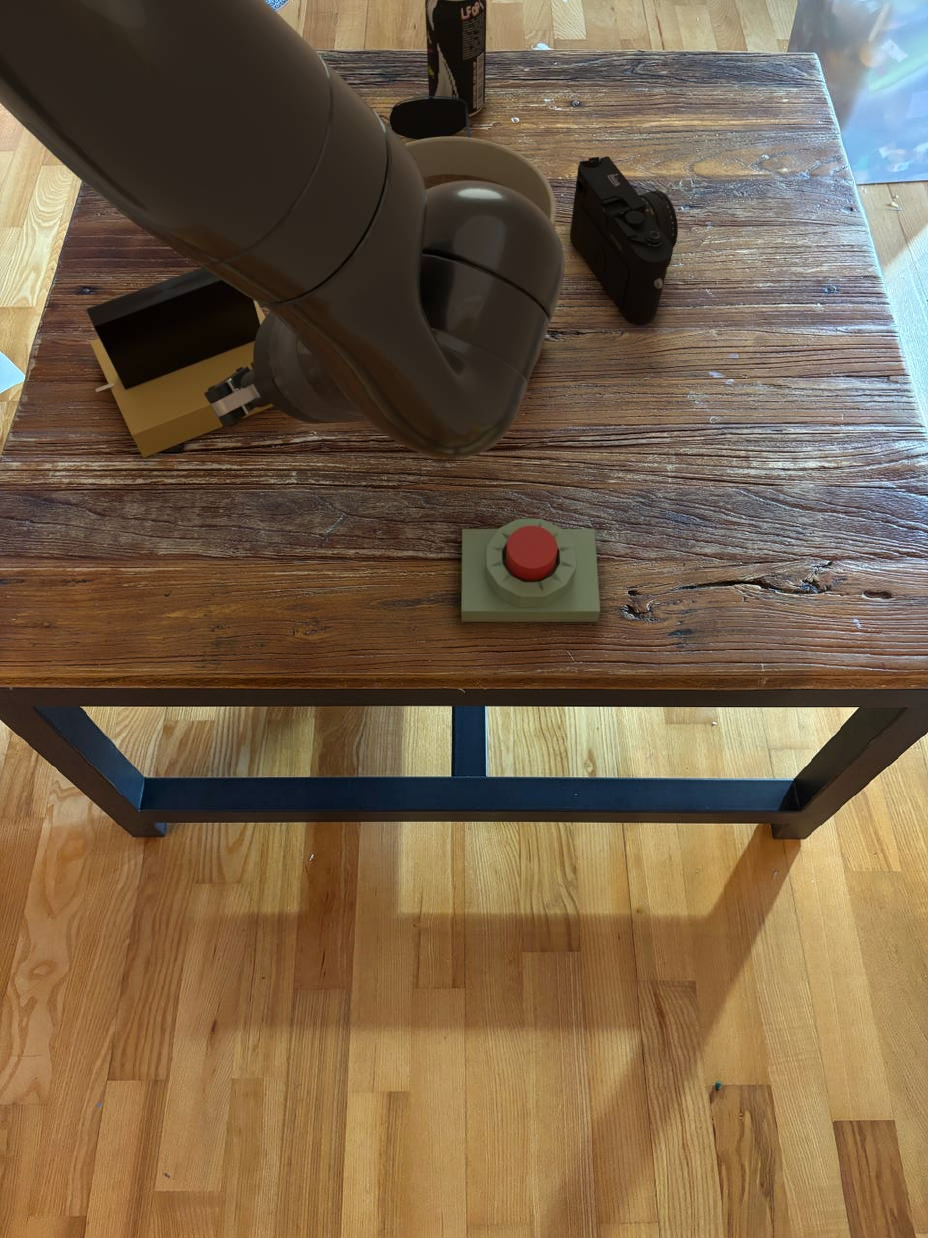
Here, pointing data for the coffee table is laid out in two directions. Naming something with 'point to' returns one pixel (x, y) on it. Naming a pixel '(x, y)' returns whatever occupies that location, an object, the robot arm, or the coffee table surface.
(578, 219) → the camera
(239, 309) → the block
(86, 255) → the coffee table surface
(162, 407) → the plate
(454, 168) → the planter
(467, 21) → the beverage can
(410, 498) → the coffee table surface
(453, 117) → the sunglasses
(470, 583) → the button block
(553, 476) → the coffee table surface
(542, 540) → the button
